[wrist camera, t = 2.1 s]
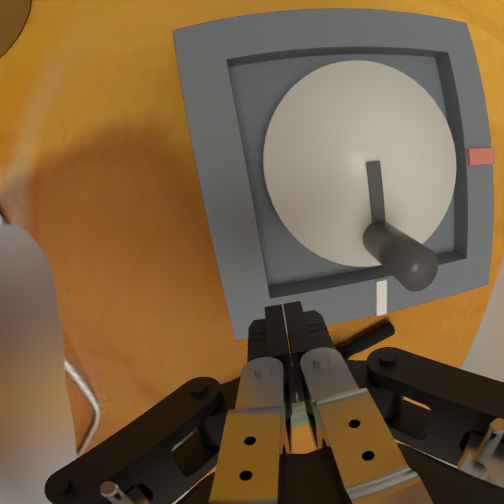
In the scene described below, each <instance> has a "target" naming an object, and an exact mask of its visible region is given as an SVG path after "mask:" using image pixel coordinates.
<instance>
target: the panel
mask: <svg viewBox="0 0 504 504" xmlns="http://www.w3.org/2000/svg"><path fill="white" fill-rule="evenodd" d="M172 32H173V39H174V45H175V51H176V57H177V63H178V69H179V75H180V81H181V87H182V92H183V98H184V104H185V109H186V115H187V120H188V125H189V131H190V136H191V141H192V146H193V151H194V157H195V162H196V167H197V172H198V177H199V181H200V186H201V191H202V196H203V201H204V206H205V210H206V215H207V220H208V224H209V229H210V233H211V238H212V242H213V247H214V251H215V256H216V260H217V265H218V269H219V273H220V278H221V282H222V286H223V290H224V295H225V299H226V303H227V307H228V311H229V316H230V320H231V324H232V328H233V332H234V336H235V340H236V341H237V340H244V339H248V328H249V326H250V325H251V323H252V322H253V321H254V320H258V319H265V307H267V306H273V305H279V304H282V309H283V315H284V321H285V327H286V333H288V332H287V326H286V319H285V313H284V306H283V304H285V303H290V302H296V301H300V302H301V305H302V308H303V312H306V311H312V310H315V311H317V312H318V313H319V314H321V315H322V317H323V319H324V322H325V325H326V326H327V325H332V324H337V323H342V322H347V321H351V320H356V319H361V318H365V317H370V316H374V315H377V316H379V315H383V314H387V312H391V311H395V310H399V309H403V308H407V307H411V306H415V305H419V304H423V303H427V302H430V301H434V300H438V299H441V298H445V297H448V296H452V295H455V294H459V293H462V292H465V291H469V290H472V289H475V288H478V287H481V286H485V285H488V281H489V273H490V263H491V252H492V238H493V213H494V189H493V164H494V163H495V160H494V148H491V139H490V130H489V122H488V115H487V108H486V102H485V96H484V91H483V85H482V81H481V76H480V71H479V67H478V63H477V59H476V55H475V51H474V47H473V43H472V40H471V37H470V33H469V30H468V27H467V24H466V23H464V22H460V21H455V20H451V19H445V18H440V17H434V16H428V15H422V14H415V13H407V12H398V11H387V10H373V9H347V8H328V9H301V10H287V11H276V12H266V13H258V14H251V15H244V16H238V17H232V18H226V19H220V20H215V21H210V22H206V23H201V24H197V25H192V26H188V27H184V28H180V29H176V30H173V31H172ZM351 60H361V61H371V62H376V63H381V64H384V65H387V66H389V67H392V68H394V69H396V70H398V71H400V72H402V73H404V74H406V75H407V76H409V77H410V78H412V79H413V80H415V81H416V82H417V83H418V84H419V85H420V86H422V87H423V88H424V89H425V90H426V91H427V92H428V94H429V95H430V96H431V97H432V98H433V99H434V101H435V102H436V104H437V105H438V107H439V108H440V110H441V111H442V113H443V115H444V117H445V119H446V121H447V123H448V126H449V129H450V131H451V134H452V138H453V142H454V147H455V153H456V180H455V186H454V191H453V195H452V198H451V202H450V205H449V207H448V209H447V211H446V214H445V216H444V218H443V219H442V221H441V222H440V224H439V226H438V227H437V228H436V230H435V231H434V232H433V234H432V235H431V236H430V237H429V238H428V239H427V240H426V241H425V242H424V243H423V244H422V245H424V246H425V247H427V248H429V249H430V250H432V251H433V252H434V253H435V255H436V256H437V259H438V271H437V274H436V277H435V279H434V280H433V282H432V283H431V284H430V285H429V286H428V287H427V288H425V289H423V290H421V291H417V292H413V291H409V290H407V289H406V288H405V287H404V286H403V285H402V284H401V283H400V282H399V281H398V280H397V279H396V278H395V277H394V276H393V275H392V274H391V273H390V272H389V271H388V270H387V269H386V268H385V267H384V266H382V265H378V266H370V267H355V266H348V265H342V264H339V263H335V262H332V261H330V260H327V259H325V258H323V257H321V256H319V255H317V254H315V253H314V252H312V251H311V250H309V249H308V248H306V247H305V246H304V245H303V244H302V243H300V242H299V241H298V240H297V239H296V238H295V237H294V236H293V235H292V234H291V233H290V232H289V230H288V229H287V228H286V226H285V225H284V223H283V222H282V221H281V219H280V217H279V215H278V214H277V212H276V210H275V208H274V206H273V203H272V201H271V198H270V196H269V193H268V190H267V187H266V182H265V178H264V171H263V146H264V140H265V135H266V132H267V128H268V125H269V122H270V120H271V118H272V116H273V114H274V112H275V110H276V108H277V107H278V105H279V104H280V102H281V101H282V99H283V98H284V96H285V95H286V94H287V93H288V92H289V90H290V89H291V88H292V87H293V86H294V85H295V84H296V83H298V82H299V81H300V80H301V79H302V78H303V77H305V76H306V75H308V74H310V73H311V72H313V71H315V70H317V69H319V68H321V67H324V66H326V65H329V64H333V63H337V62H341V61H351Z"/></svg>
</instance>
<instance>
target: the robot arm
mask: <svg viewBox="0 0 504 504" xmlns="http://www.w3.org/2000/svg"><path fill="white" fill-rule="evenodd" d="M30 3H31V0H0V56H2V55H3V54H4V53H5V52H6V51H7V50H8V48H9V47H10V46H11V45H12V43H13V42H14V41H15V40H16V38H17V36H18V35H19V33H20V31H21V30H22V28H23V26H24V24H25V21H26V19H27V16H28V13H29V9H30ZM283 306H284V313H285V319H286V326H287V332H288V339H289V345H290V351H291V357H292V364H293V370H294V376H295V382H296V388H297V394H298V401H299V402H303V401H304V402H305V407H306V416H307V421H308V424H309V428H310V431H311V435H312V438H313V442H314V445H315V449H316V450H315V451H313V452H310V453H307V454H292V417H291V415H292V403H297V400H296V393H295V386H294V379H293V372H292V365H291V358H290V351H289V345H288V339H287V333H286V327H285V321H284V315H283V309H282V304H279V305H273V306H267V307H265V319H258V320H254V321H253V322H252V323H251V325H250V326H249V328H248V360H247V364H246V365H245V366H244V367H243V369H242V371H241V376H240V377H238V378H237V379H235V380H233V381H230V382H227V383H224V384H221V385H220V384H219V382H218V381H217V380H215V379H213V378H210V377H198V378H194V379H192V380H189V381H188V382H186V383H185V384H183V385H182V386H181V387H179V388H178V389H177V390H175V391H174V392H173V393H171V394H170V395H169V396H167V397H166V398H164V399H163V400H162V401H160V402H159V403H158V404H156V405H155V406H153V407H152V408H151V409H149V410H148V411H147V412H145V413H144V414H142V415H141V416H139V417H138V418H137V419H135V420H134V421H132V422H131V423H130V424H128V425H127V426H125V427H124V428H122V429H121V430H119V431H118V432H117V433H115V434H114V435H112V436H111V437H109V438H108V439H106V440H105V441H103V442H102V443H100V444H99V445H97V446H96V447H94V448H93V449H91V450H90V451H88V452H87V453H85V454H84V455H82V456H80V457H79V458H77V459H76V460H75V461H73V462H71V463H69V464H68V465H66V466H65V467H63V468H61V469H60V470H58V471H57V472H55V473H54V474H52V475H51V476H50V477H49V478H48V480H47V482H46V484H45V494H46V497H47V499H48V500H49V501H50V502H52V504H172V503H173V502H174V501H176V500H177V499H178V498H179V497H180V496H182V495H183V494H184V493H185V492H186V491H188V490H189V489H190V488H191V487H192V486H193V485H195V484H196V483H197V482H198V481H199V480H200V479H201V478H203V477H204V476H205V475H206V474H207V473H208V472H209V471H210V470H212V469H213V468H214V467H215V466H216V465H217V466H216V471H215V472H213V473H212V474H210V475H208V476H207V477H205V478H204V479H203V480H201V481H200V482H199V483H198V484H197V485H196V486H195V487H194V488H193V489H192V490H190V491H189V492H188V493H187V494H186V495H185V496H184V497H183V498H182V499H180V500H179V501H178V502H177V503H176V504H504V382H500V381H497V380H493V379H490V378H487V377H484V376H481V375H477V374H474V373H471V372H468V371H465V370H461V369H458V368H455V367H452V366H449V365H446V364H443V363H440V362H437V361H434V360H431V359H428V358H425V357H422V356H419V355H416V354H413V353H410V352H407V351H404V350H401V349H398V348H394V347H384V348H379V349H377V350H375V351H373V352H372V353H370V355H369V356H368V358H367V361H355V360H348V359H345V358H343V357H342V355H341V354H340V353H339V352H338V351H337V350H335V348H334V346H333V343H332V340H331V338H330V335H329V332H328V330H327V327H326V325H325V322H324V319H323V317H322V315H321V314H319V313H318V312H317V311H315V310H312V311H306V312H303V308H302V305H301V302H300V301H296V302H290V303H285V304H283ZM403 397H407V398H409V399H412V400H414V401H417V402H419V403H422V404H424V405H426V406H428V407H429V408H430V409H431V410H428V409H425V408H423V407H420V406H418V405H416V404H413V403H411V402H408V401H406V400H403ZM193 430H195V433H194V434H193V435H191V436H190V437H189V438H188V439H187V440H185V441H184V442H183V443H182V444H180V445H179V446H178V447H177V448H176V449H174V450H173V451H172V449H173V448H174V446H175V445H176V444H177V443H179V442H180V441H181V440H182V439H184V438H185V437H186V436H187V435H188V434H190V433H191V432H192V431H193ZM394 439H396V440H398V441H400V442H402V443H405V444H407V445H409V446H407V445H404V444H400V443H396V442H395V440H394ZM410 446H411V447H410ZM412 447H413V448H412ZM414 448H416V449H418V450H420V451H422V452H425V453H427V454H429V455H431V456H434V457H436V458H439V459H441V460H443V461H446V462H448V463H451V464H453V465H456V466H458V469H456V468H454V467H452V466H450V465H447V464H445V463H443V462H441V461H439V460H437V459H435V458H432V457H430V456H428V455H426V454H424V453H422V452H420V451H418V450H416V449H414Z"/></svg>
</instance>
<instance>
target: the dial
mask: <svg viewBox="0 0 504 504" xmlns="http://www.w3.org/2000/svg"><path fill="white" fill-rule="evenodd" d="M263 171H264V178H265V182H266V187H267V190H268V193H269V196H270V198H271V201H272V203H273V206H274V208H275V210H276V212H277V214H278V215H279V217H280V219H281V221H282V222H283V223H284V225H285V226H286V228H287V229H288V230H289V232H290V233H291V234H292V235H293V236H294V237H295V238H296V239H297V240H298V241H299V242H300V243H302V244H303V245H304V246H305V247H306V248H308V249H309V250H311V251H312V252H314V253H315V254H317V255H319V256H321V257H323V258H325V259H327V260H330V261H332V262H335V263H339V264H342V265H348V266H355V267H370V266H378V265H382V266H384V267H385V268H386V269H387V270H388V271H389V272H390V273H391V274H392V275H393V276H394V277H395V278H396V279H397V280H398V281H399V282H400V283H401V284H402V285H403V286H404V287H405V288H406V289H407V290H409V291H413V292H417V291H421V290H423V289H425V288H427V287H428V286H429V285H430V284H431V283H432V282H433V280H434V279H435V277H436V274H437V271H438V259H437V256H436V255H435V253H434V252H433V251H432V250H430V249H429V248H427V247H425V246H424V245H422V244H423V243H424V242H425V241H426V240H427V239H428V238H429V237H430V236H431V235H432V234H433V232H434V231H435V230H436V228H437V227H438V226H439V224H440V222H441V221H442V219H443V218H444V216H445V214H446V211H447V209H448V207H449V205H450V202H451V198H452V195H453V191H454V186H455V180H456V153H455V147H454V142H453V138H452V134H451V131H450V129H449V126H448V123H447V121H446V119H445V117H444V115H443V113H442V111H441V110H440V108H439V107H438V105H437V104H436V102H435V101H434V99H433V98H432V97H431V96H430V95H429V94H428V92H427V91H426V90H425V89H424V88H423V87H422V86H420V85H419V84H418V83H417V82H416V81H415V80H413V79H412V78H410V77H409V76H407V75H406V74H404V73H402V72H400V71H398V70H396V69H394V68H392V67H389V66H387V65H384V64H381V63H376V62H371V61H361V60H351V61H341V62H337V63H333V64H329V65H326V66H324V67H321V68H319V69H317V70H315V71H313V72H311V73H310V74H308V75H306V76H305V77H303V78H302V79H301V80H300V81H299V82H298V83H296V84H295V85H294V86H293V87H292V88H291V89H290V90H289V92H288V93H287V94H286V95H285V96H284V98H283V99H282V101H281V102H280V104H279V105H278V107H277V108H276V110H275V112H274V114H273V116H272V118H271V120H270V122H269V125H268V128H267V132H266V135H265V140H264V146H263Z"/></svg>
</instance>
